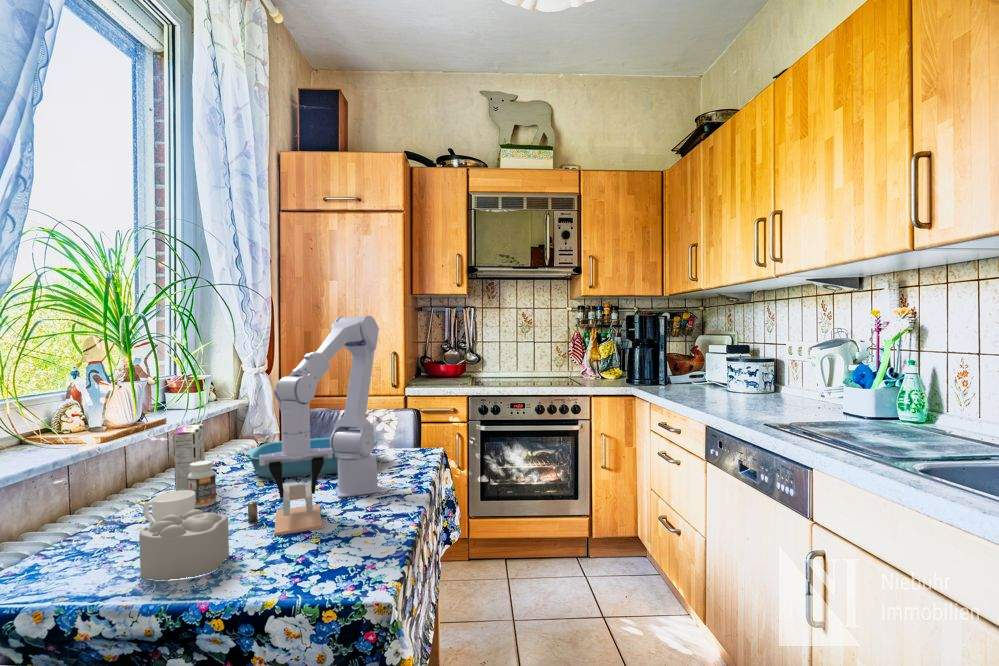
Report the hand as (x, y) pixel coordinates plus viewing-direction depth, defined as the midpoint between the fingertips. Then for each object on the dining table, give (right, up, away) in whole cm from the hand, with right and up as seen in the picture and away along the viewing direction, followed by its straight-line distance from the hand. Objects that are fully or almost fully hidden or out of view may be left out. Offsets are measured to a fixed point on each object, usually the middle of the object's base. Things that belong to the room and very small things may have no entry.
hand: (297, 494), depth 110 cm
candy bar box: (-35, -6, +21) cm, 41 cm away
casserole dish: (-12, -6, +42) cm, 44 cm away
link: (0, -2, 0) cm, 2 cm away
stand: (-9, -6, -1) cm, 11 cm away
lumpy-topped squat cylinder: (-11, -6, -21) cm, 25 cm away
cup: (-25, -6, -4) cm, 26 cm away
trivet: (0, -5, -1) cm, 5 cm away
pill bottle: (-27, -6, +11) cm, 30 cm away
